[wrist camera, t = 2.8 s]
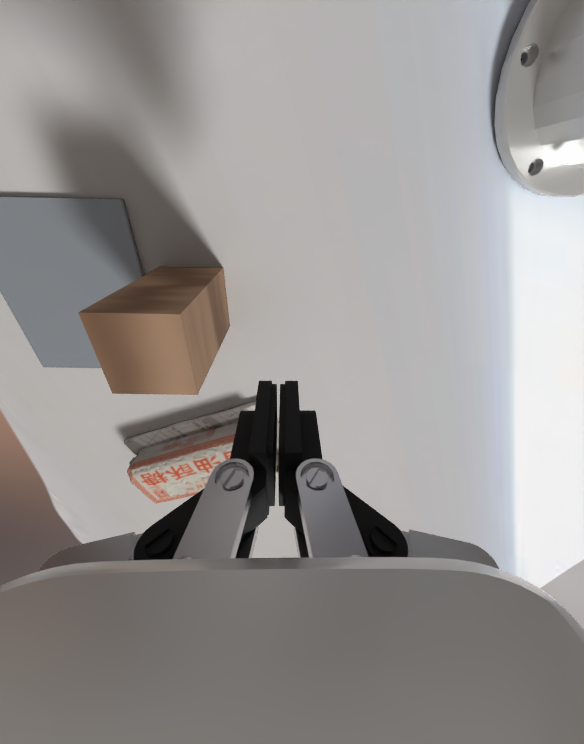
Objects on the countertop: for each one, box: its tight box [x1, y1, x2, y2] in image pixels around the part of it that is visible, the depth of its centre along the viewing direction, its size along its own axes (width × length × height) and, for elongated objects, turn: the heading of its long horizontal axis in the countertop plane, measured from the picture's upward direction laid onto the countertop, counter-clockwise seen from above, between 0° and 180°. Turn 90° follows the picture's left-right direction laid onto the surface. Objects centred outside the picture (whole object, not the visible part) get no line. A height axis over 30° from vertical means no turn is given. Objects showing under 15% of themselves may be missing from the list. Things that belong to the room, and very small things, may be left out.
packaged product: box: [124, 401, 279, 503], centre depth 32 cm, size 18×5×10 cm
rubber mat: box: [0, 197, 144, 368], centre depth 23 cm, size 12×14×1 cm
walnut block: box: [78, 267, 230, 395], centre depth 19 cm, size 5×5×10 cm
